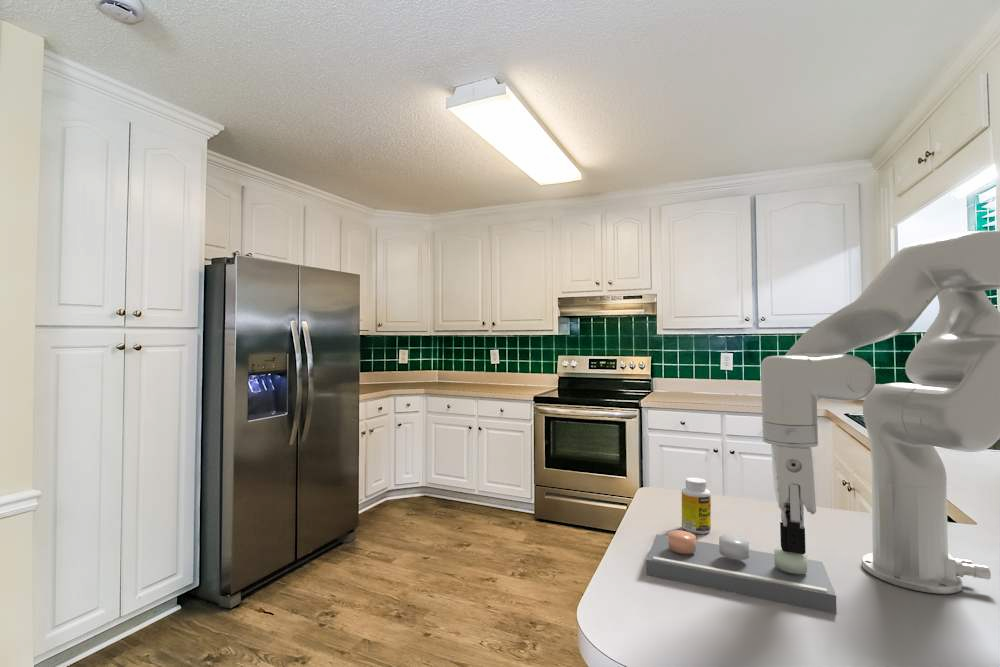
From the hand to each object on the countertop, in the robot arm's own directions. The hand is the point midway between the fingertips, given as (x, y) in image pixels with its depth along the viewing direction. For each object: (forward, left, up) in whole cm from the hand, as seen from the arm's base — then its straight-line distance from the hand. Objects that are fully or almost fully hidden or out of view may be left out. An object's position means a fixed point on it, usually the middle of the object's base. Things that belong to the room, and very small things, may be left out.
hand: (793, 550), depth 76 cm
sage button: (0, 0, -3) cm, 3 cm away
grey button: (+8, 0, -2) cm, 9 cm away
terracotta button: (+16, 0, -2) cm, 17 cm away
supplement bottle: (+15, -19, -6) cm, 25 cm away
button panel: (+8, 0, -6) cm, 10 cm away
